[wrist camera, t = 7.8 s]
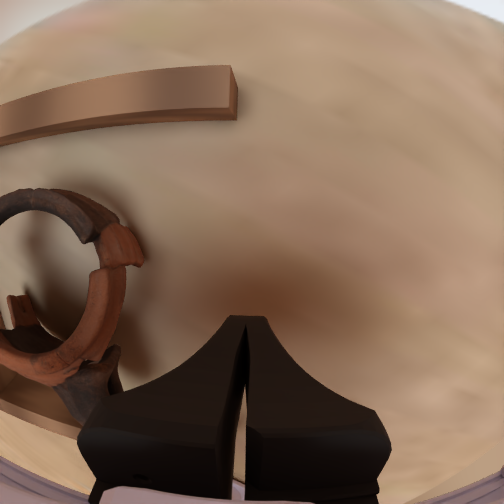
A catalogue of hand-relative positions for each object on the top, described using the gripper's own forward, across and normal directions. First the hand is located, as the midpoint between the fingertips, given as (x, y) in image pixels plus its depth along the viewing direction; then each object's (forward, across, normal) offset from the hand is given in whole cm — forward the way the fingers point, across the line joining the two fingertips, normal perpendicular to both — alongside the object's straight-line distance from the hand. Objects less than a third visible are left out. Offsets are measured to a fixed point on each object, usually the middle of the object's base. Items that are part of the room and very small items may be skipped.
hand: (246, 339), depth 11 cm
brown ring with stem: (+4, +9, +1) cm, 10 cm away
